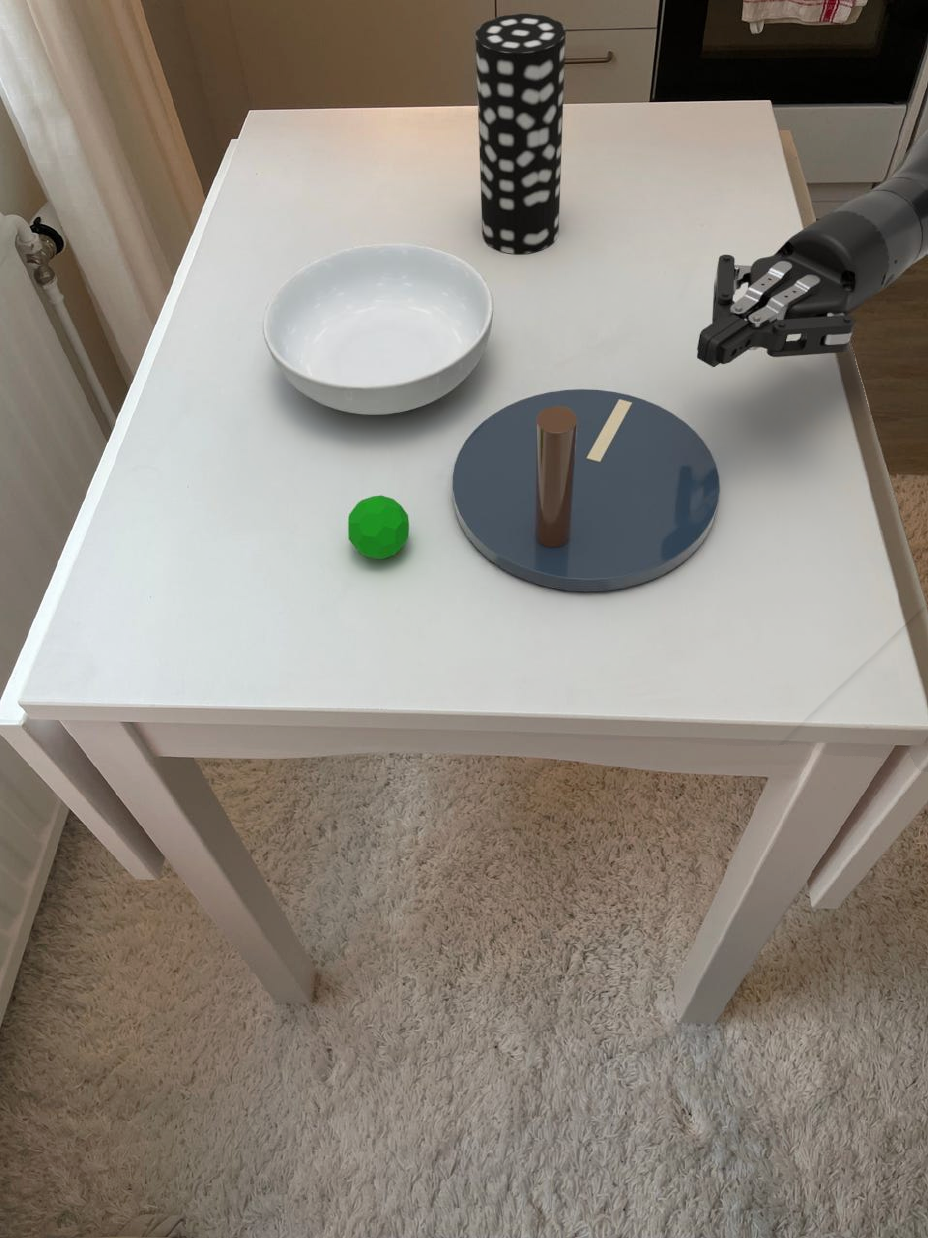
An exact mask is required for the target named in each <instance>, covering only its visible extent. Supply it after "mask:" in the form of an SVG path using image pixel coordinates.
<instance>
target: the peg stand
mask: <svg viewBox="0 0 928 1238" xmlns="http://www.w3.org/2000/svg"><path fill="white" fill-rule="evenodd" d="M720 493H721V487H720V475H719V472H718V466H717V464H716V461H715V459H714V457H713V454H712V452H711V451H710V449H709V448H708V445H707V444H706V443H705V441H704V440H703V439H702V438H701V437H700V435H699V434H698V433H697V432H696V431H695V430H694V429H693V427H691V426H690V425H689V424H688V423H686V422H685V421H684V420H683V419H681V418H680V417H679V416H677V415H675V413H673V412H671V411H670V410H667V409H665V408H664V407H662V406H660V405H658V404H655V403H653V402H651V401H648V400H646V399H643V398H639V397H637V396H634V395H630V394H626V393H621V392H616V391H610V390H604V389H590V388H588V389H587V388H579V389H563V390H561V389H560V390H554V391H548V392H545V393H539V394H535V395H532V396H529V397H525V398H523V399H520V400H518V401H516V402H513V403H511V404H509V405H506V406H505V407H503V408H501V409H499V410H498V411H496V412H494V413H493V414H491V415H490V416H489V417H488V418H486V419H485V420H484V421H482V422H481V423H480V424H479V425H478V426H477V427H476V428H475V429H474V430H473V431H472V432H471V433H470V435H469V436H468V437H467V438H466V439H465V441H464V443H463V444H462V447H461V448H460V450H459V452H458V454H457V457H456V460H455V462H454V466H453V472H452V497H453V498H452V499H453V504H454V505H453V506H454V510H455V515H456V517H457V519H458V521H459V524H460V527H461V528H462V530H463V531H464V533H465V535H466V537H467V539H469V541H470V542H471V543H472V544H473V546H474V547H475V548H476V550H478V551H479V552H480V553H481V554H482V555H483V556H485V557H486V559H488V560H489V561H491V562H492V563H493V564H495V565H496V566H497V567H499V568H501V569H502V570H505V572H508V573H510V574H512V575H514V576H515V577H518V578H520V579H522V580H525V581H528V582H530V583H533V584H535V585H540V586H543V587H547V588H551V589H558V590H563V591H571V592H607V591H614V590H620V589H625V588H629V587H633V586H637V585H641V584H644V583H646V582H649V581H652V580H654V579H657V578H659V577H661V576H663V575H664V574H667V573H668V572H671V571H672V570H674V569H675V568H676V567H678V566H680V565H681V564H682V563H684V562H685V561H686V560H687V559H688V558H690V556H692V554H694V553H695V552H696V550H697V549H699V547H700V546H701V544H702V543H703V542H704V541H705V539H706V537H707V536H708V533H710V530H711V528H712V526H713V524H714V521H715V516H716V514H717V511H718V505H719V501H720Z"/></svg>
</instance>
